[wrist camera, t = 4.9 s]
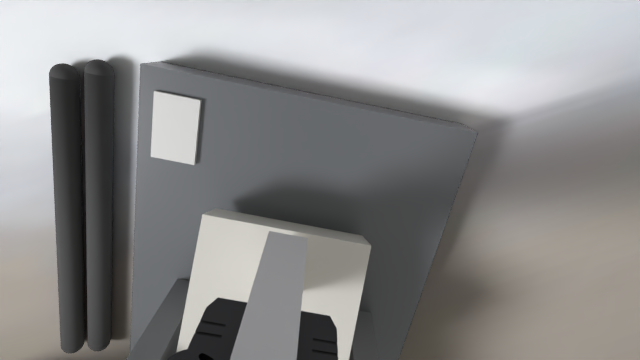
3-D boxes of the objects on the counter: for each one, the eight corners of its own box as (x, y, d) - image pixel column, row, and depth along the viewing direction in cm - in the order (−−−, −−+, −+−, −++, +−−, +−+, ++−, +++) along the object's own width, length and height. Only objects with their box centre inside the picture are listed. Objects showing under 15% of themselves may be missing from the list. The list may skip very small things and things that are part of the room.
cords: (59, 49, 18) (41, 49, 17) (119, 62, 18) (105, 63, 17) (69, 341, 24) (56, 356, 23) (114, 348, 24) (103, 363, 23)
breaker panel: (159, 61, 18) (52, 72, 11) (462, 124, 19) (545, 172, 12) (140, 419, 26) (72, 559, 19) (353, 451, 27) (363, 597, 20)
